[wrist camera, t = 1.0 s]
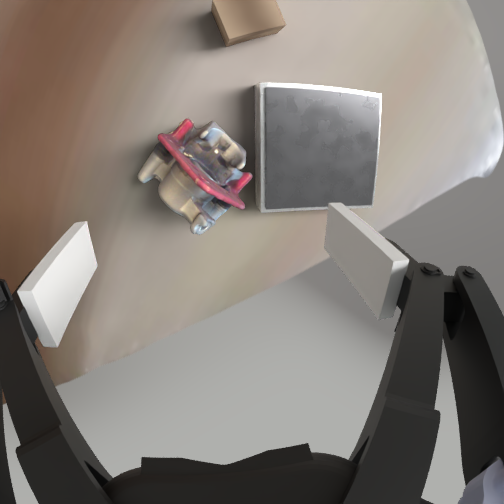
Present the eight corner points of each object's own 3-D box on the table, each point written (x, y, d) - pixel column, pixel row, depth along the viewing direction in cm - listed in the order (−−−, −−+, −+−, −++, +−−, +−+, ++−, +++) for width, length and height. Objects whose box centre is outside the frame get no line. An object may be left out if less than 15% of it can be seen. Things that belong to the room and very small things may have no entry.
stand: (255, 202, 36) (261, 214, 32) (254, 85, 29) (261, 82, 26) (359, 199, 38) (374, 209, 34) (366, 93, 31) (383, 94, 28)
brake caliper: (284, 155, 31) (251, 239, 24) (225, 195, 39) (187, 269, 32) (206, 84, 26) (140, 148, 20) (159, 140, 34) (103, 207, 28)
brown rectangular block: (226, 47, 27) (229, 39, 23) (211, 11, 24) (212, -1, 21) (276, 33, 27) (286, 24, 23) (262, -2, 24) (269, -14, 21)
